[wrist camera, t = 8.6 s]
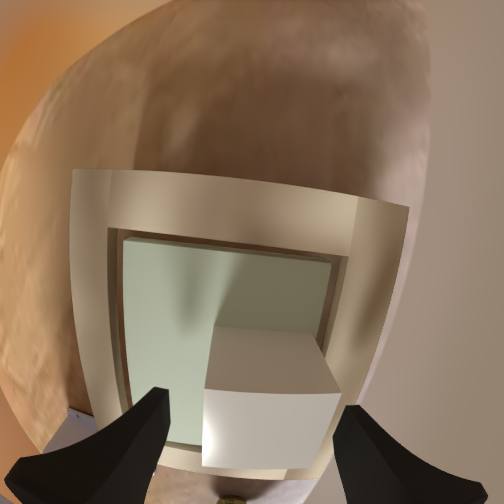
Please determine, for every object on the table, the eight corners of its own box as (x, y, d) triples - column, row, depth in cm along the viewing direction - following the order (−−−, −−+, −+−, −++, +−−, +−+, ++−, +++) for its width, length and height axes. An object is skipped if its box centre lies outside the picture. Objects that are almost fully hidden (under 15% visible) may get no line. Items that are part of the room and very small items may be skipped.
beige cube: (208, 399, 14) (201, 466, 9) (213, 325, 13) (204, 388, 8) (293, 404, 14) (310, 467, 9) (312, 333, 13) (341, 393, 9)
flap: (142, 402, 17) (130, 433, 14) (136, 228, 15) (113, 239, 12) (278, 416, 18) (284, 449, 15) (313, 248, 15) (331, 263, 12)
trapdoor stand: (134, 393, 21) (104, 448, 15) (131, 173, 18) (72, 168, 11) (306, 417, 22) (318, 479, 15) (357, 200, 18) (409, 207, 11)
